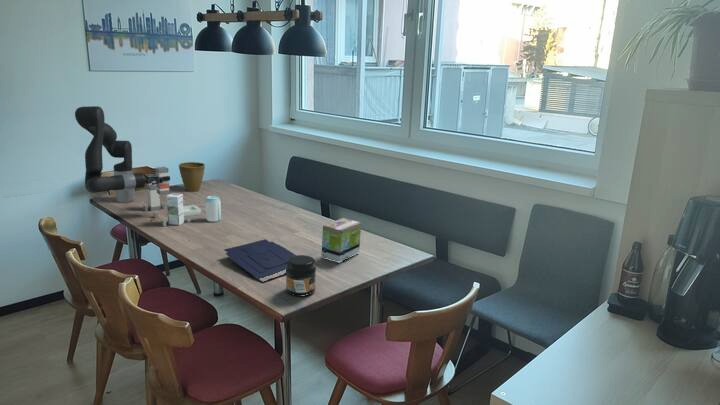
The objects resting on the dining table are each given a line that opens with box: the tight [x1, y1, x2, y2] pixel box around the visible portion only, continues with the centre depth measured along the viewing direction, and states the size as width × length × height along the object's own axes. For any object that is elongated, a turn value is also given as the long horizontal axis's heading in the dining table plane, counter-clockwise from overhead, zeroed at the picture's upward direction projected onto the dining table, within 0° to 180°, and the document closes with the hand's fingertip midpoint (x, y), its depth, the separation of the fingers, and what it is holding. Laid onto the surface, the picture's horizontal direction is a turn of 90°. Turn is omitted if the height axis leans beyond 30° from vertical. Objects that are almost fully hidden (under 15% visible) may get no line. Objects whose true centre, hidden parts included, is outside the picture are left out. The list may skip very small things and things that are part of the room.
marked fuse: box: [154, 166, 171, 196], centre depth 255 cm, size 5×5×13 cm
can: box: [205, 195, 222, 223], centre depth 255 cm, size 7×7×12 cm
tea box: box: [320, 217, 362, 261], centre depth 215 cm, size 15×10×15 cm
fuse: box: [146, 184, 161, 212], centre depth 268 cm, size 5×5×13 cm
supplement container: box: [285, 254, 317, 296], centre depth 181 cm, size 10×10×12 cm
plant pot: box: [178, 161, 206, 193], centre depth 308 cm, size 15×15×16 cm
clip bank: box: [142, 202, 191, 227], centre depth 258 cm, size 32×15×2 cm, turn 41°
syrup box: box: [166, 193, 185, 226], centre depth 247 cm, size 6×6×14 cm
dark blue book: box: [223, 239, 296, 280], centre depth 206 cm, size 24×30×4 cm
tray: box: [183, 204, 202, 218], centre depth 265 cm, size 10×10×2 cm
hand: (167, 177), depth 256 cm, fingers closed on marked fuse, 4 cm apart
